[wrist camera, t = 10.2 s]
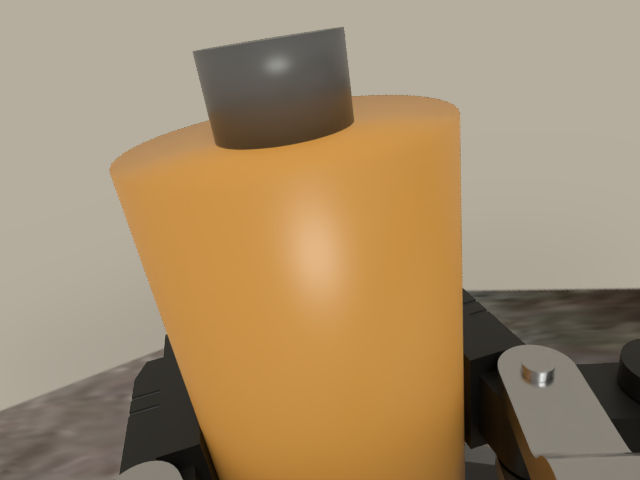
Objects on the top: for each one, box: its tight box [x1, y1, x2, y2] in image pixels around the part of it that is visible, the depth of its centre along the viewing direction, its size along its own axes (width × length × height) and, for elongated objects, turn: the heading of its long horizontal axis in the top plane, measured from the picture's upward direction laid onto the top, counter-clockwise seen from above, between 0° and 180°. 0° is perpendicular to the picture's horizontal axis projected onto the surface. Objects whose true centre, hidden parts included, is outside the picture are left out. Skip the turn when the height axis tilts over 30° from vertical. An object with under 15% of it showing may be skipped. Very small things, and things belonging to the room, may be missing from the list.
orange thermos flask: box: [110, 27, 465, 480], centre depth 9 cm, size 5×5×13 cm
